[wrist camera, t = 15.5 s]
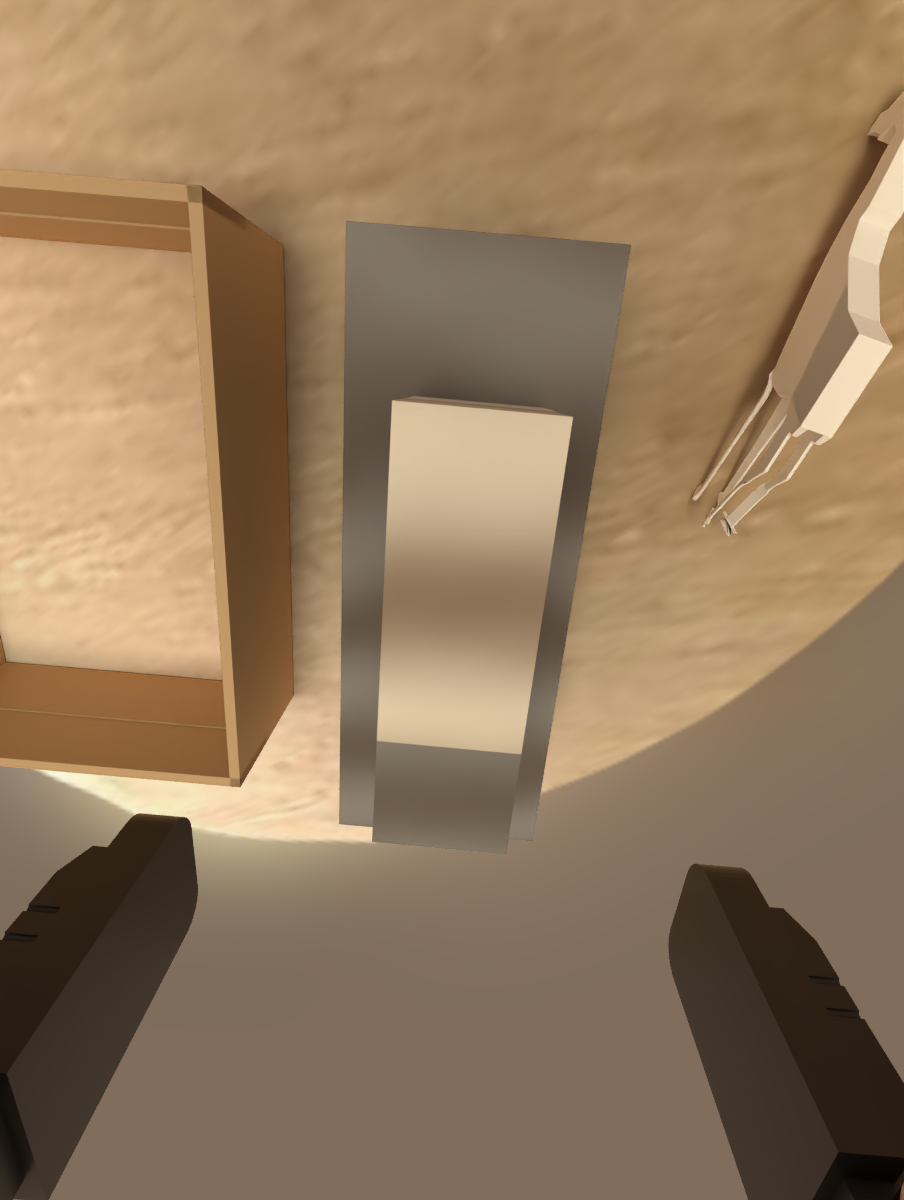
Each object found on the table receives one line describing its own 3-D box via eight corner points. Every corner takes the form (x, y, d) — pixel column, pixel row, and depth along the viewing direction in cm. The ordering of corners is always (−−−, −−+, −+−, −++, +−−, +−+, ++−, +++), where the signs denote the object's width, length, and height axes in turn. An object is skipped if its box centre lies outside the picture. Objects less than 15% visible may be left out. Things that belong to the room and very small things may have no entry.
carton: (-115, 212, 28) (-367, 138, 20) (283, 245, 28) (201, 185, 19) (-8, 668, 37) (-150, 752, 28) (293, 695, 37) (240, 787, 28)
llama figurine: (700, 448, 37) (939, 85, 24) (738, 556, 28) (1128, 90, 16) (673, 439, 36) (901, 69, 24) (704, 544, 28) (1072, 65, 16)
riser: (392, 280, 28) (346, 220, 18) (573, 295, 28) (631, 244, 18) (376, 701, 37) (339, 824, 26) (515, 713, 37) (532, 841, 26)
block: (415, 396, 20) (392, 400, 14) (544, 407, 20) (573, 416, 14) (395, 737, 25) (372, 841, 19) (498, 747, 25) (506, 854, 19)
